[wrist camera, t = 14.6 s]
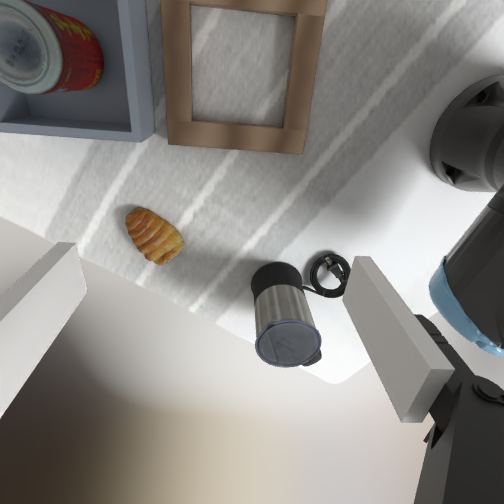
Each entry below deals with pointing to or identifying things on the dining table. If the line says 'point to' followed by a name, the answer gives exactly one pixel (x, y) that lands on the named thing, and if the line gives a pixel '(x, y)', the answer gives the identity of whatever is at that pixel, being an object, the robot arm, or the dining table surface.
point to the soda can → (46, 50)
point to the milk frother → (291, 311)
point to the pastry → (154, 236)
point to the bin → (105, 91)
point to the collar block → (234, 134)
